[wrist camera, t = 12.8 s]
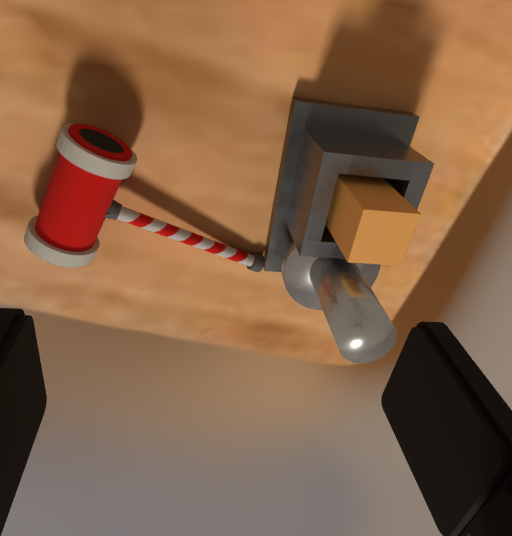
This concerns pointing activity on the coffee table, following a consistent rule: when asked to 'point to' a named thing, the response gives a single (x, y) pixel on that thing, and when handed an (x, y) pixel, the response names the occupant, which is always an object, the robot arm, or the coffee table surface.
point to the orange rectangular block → (370, 220)
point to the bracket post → (317, 207)
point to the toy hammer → (98, 203)
